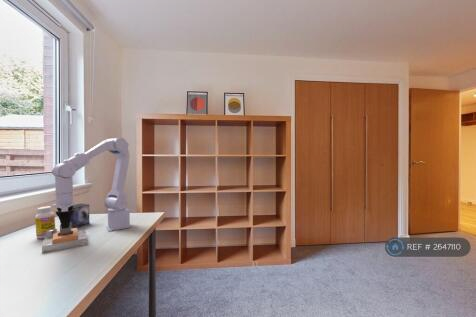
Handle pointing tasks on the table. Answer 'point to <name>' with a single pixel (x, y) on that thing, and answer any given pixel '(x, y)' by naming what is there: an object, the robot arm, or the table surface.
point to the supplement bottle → (44, 221)
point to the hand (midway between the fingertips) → (65, 225)
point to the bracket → (65, 236)
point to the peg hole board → (48, 245)
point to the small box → (79, 215)
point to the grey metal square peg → (65, 230)
